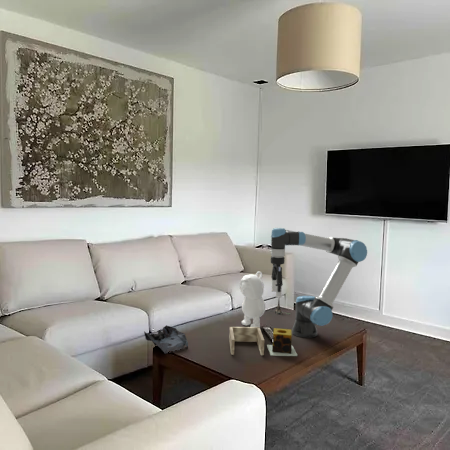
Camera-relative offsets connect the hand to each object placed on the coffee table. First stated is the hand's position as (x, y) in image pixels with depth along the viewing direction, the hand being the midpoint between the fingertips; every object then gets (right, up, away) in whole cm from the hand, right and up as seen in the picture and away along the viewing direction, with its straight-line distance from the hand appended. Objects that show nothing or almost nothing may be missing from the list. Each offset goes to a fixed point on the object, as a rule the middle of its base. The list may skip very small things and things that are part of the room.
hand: (276, 294), depth 234 cm
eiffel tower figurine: (+10, -25, +65) cm, 70 cm away
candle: (+2, -29, -6) cm, 29 cm away
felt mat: (+2, -29, -6) cm, 30 cm away
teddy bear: (-11, -26, +34) cm, 44 cm away
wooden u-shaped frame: (-17, -28, -3) cm, 33 cm away
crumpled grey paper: (-60, -28, -5) cm, 66 cm away
